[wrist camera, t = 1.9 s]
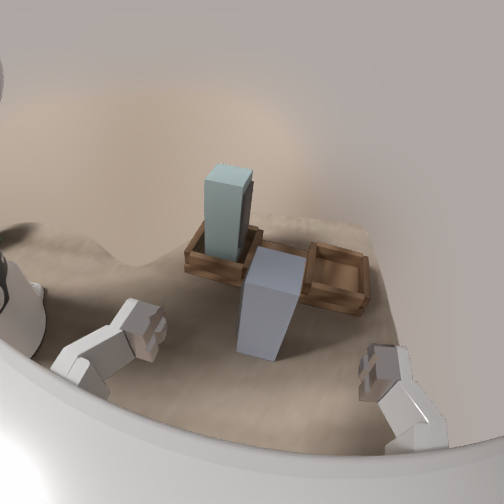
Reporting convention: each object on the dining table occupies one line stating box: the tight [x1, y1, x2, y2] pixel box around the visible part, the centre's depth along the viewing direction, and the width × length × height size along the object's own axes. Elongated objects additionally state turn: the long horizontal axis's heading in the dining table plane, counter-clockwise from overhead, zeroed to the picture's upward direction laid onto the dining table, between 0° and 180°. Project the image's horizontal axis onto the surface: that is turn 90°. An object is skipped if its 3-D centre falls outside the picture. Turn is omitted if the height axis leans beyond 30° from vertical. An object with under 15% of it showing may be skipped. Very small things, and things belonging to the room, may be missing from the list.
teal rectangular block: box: [204, 163, 254, 263], centre depth 41 cm, size 5×5×14 cm
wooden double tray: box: [184, 221, 370, 317], centre depth 45 cm, size 28×10×4 cm, turn 75°
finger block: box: [236, 246, 306, 362], centre depth 32 cm, size 5×5×14 cm
